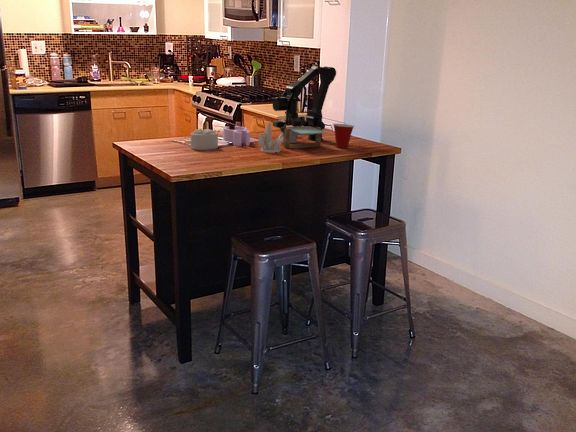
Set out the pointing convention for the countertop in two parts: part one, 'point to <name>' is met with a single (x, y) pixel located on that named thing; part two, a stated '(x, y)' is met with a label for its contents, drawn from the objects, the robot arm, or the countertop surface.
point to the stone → (293, 139)
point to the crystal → (269, 141)
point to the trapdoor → (304, 130)
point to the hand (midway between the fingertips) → (290, 139)
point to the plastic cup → (342, 135)
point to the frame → (287, 145)
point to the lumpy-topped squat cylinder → (204, 139)
